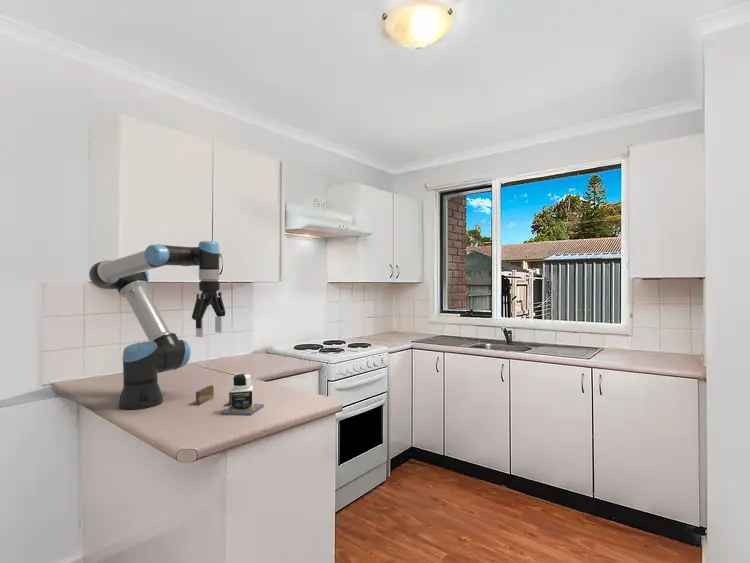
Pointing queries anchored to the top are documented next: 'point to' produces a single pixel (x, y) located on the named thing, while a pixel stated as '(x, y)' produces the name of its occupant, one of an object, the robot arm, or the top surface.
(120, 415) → the top surface
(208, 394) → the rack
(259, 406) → the trivet
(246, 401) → the medicine bottle
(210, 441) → the top surface
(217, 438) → the top surface
